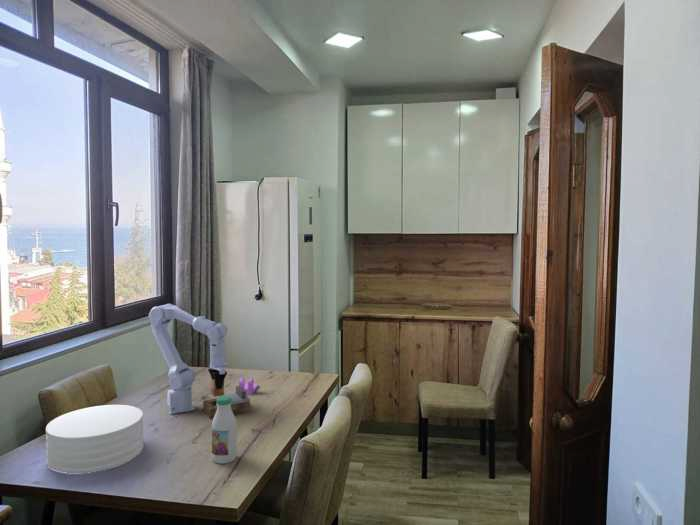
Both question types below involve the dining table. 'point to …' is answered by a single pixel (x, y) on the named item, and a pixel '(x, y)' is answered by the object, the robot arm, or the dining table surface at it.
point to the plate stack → (94, 438)
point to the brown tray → (211, 407)
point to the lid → (238, 396)
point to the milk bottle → (224, 432)
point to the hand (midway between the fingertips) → (217, 387)
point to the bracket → (248, 386)
